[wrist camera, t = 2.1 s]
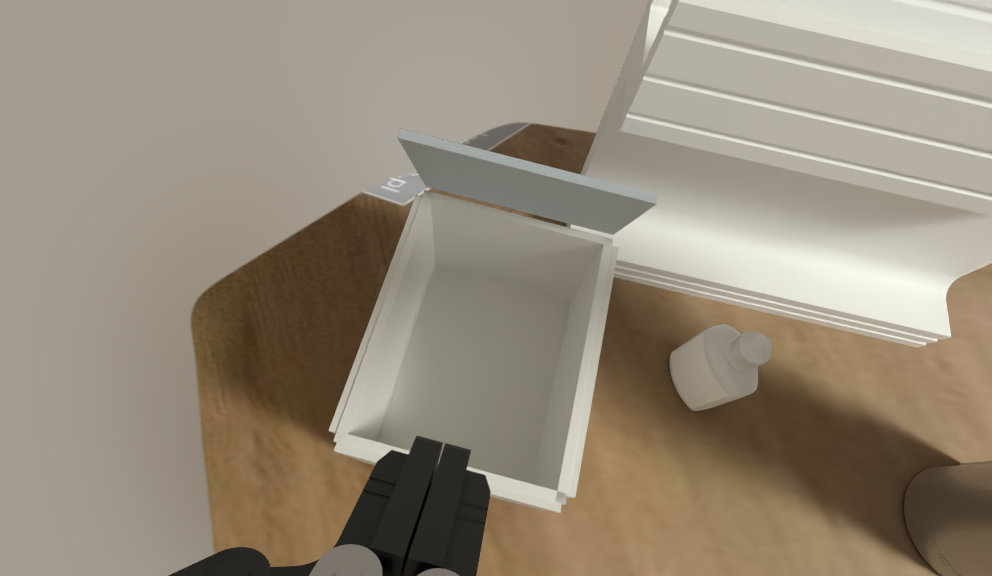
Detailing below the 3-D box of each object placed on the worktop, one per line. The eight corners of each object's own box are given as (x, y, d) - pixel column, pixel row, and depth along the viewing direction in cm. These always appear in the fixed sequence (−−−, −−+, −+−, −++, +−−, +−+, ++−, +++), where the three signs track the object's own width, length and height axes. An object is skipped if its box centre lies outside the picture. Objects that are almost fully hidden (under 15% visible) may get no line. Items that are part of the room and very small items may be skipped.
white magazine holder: (909, 272, 51) (1371, 45, 25) (917, 347, 48) (1455, 175, 22) (572, 195, 52) (690, -106, 26) (559, 264, 49) (678, 1, 23)
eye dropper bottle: (661, 403, 44) (731, 372, 33) (670, 343, 46) (738, 296, 35) (710, 417, 44) (797, 391, 33) (716, 356, 46) (799, 313, 35)
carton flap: (426, 186, 36) (428, 180, 36) (613, 235, 35) (614, 228, 36) (397, 137, 26) (400, 128, 26) (656, 204, 26) (659, 194, 26)
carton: (426, 260, 48) (418, 188, 37) (581, 300, 47) (620, 240, 36) (358, 460, 40) (321, 447, 29) (539, 510, 40) (572, 516, 29)
